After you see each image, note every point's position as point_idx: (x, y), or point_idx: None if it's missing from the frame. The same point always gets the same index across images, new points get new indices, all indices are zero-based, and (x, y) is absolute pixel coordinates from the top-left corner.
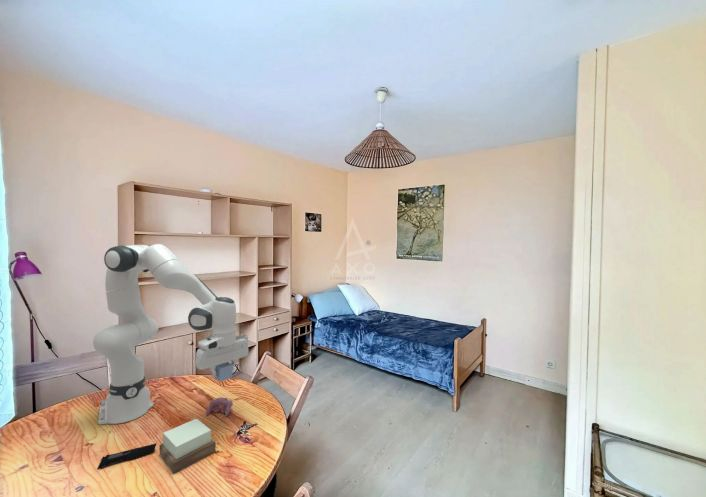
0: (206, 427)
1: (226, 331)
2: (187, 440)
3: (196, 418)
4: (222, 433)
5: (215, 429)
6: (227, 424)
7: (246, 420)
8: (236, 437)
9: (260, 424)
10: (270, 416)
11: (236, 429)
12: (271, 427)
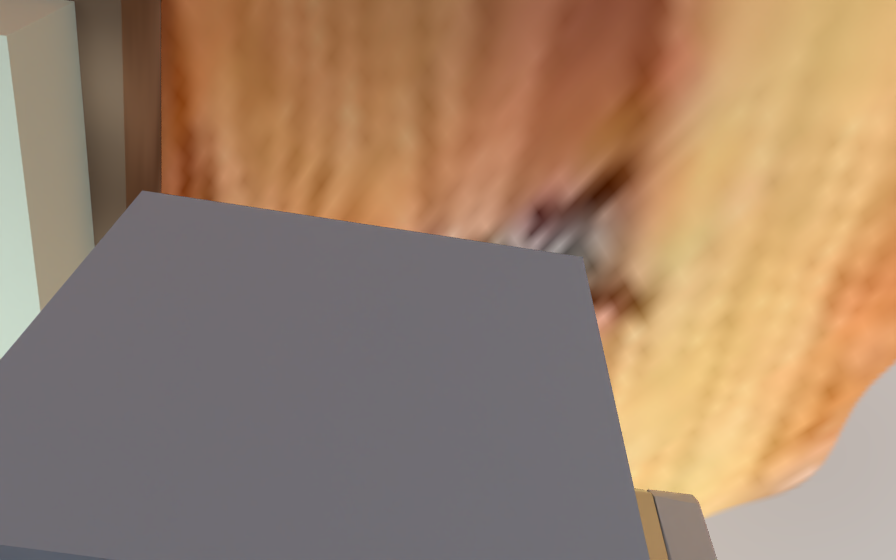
0: (33, 319)
1: None
2: None
3: (3, 37)
4: (345, 147)
5: (340, 16)
6: (478, 53)
7: (642, 175)
8: None
9: (651, 342)
10: (812, 328)
11: (470, 213)
12: (659, 445)
